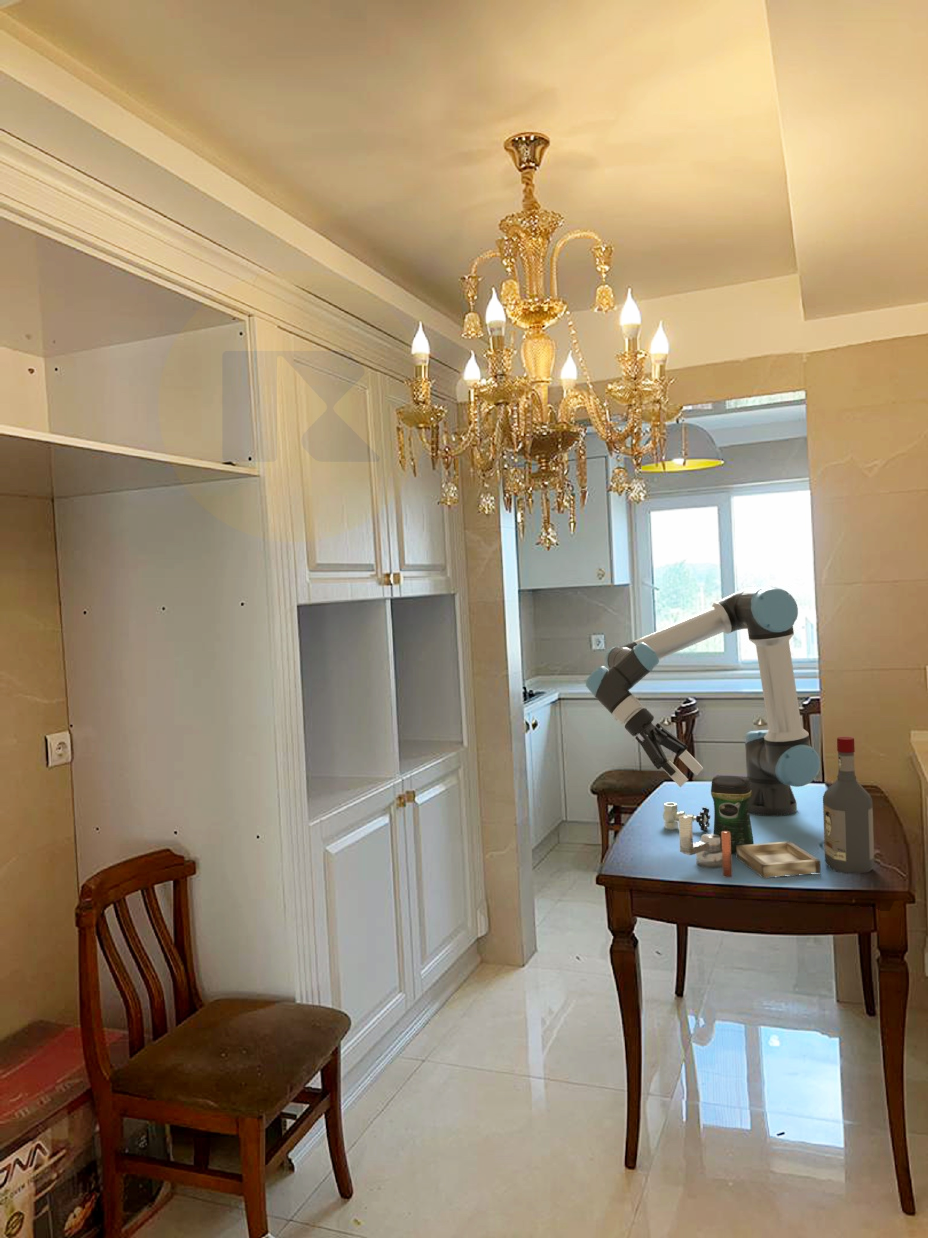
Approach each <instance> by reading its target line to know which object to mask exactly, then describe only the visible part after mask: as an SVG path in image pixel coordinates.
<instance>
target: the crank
mask: <svg viewBox="0 0 928 1238" xmlns="http://www.w3.org/2000/svg"><path fill="white" fill-rule="evenodd" d="M678 829H679V830H678V833H679V852H680V853H682V854H684V855H686V856H693V855H696V853H699V852H702V851H707V852H717V851H720V850H721V843H720V836H719V835H716V834H714V833H706V834H705V833H704V834H702V835H701V836H700V838H701V839H700V840H699V841H696V842H694V835H693V834H694V833H693V822H692V817H691V816H688V815H687V816H686V815H684V816H679V821H678Z"/></svg>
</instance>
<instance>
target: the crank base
mask: <svg viewBox="0 0 928 1238" xmlns="http://www.w3.org/2000/svg"><path fill="white" fill-rule="evenodd" d="M721 837H722V848H721V850H720V851H717V852H707V851H702V852H699V853H696V854H695V857H696V865H697V866H699V867H701V868H706V869H720V868H722V876H723V877H724V876H725V877H726V878H731V877H733V869H732V867H733V866H732V865H733V863H732V853H731V834H730V832H729V831H722V832H721ZM725 877H724V878H725Z"/></svg>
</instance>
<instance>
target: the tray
mask: <svg viewBox="0 0 928 1238" xmlns="http://www.w3.org/2000/svg"><path fill="white" fill-rule="evenodd" d="M736 850H737V853H736V859H738V860H739V861H741V862H742V863H743V864H744V865H745V866H747V867H749V868H750V869H751V870H752V871H753V870H754V871H753V872H755V873H756V874H757V873H758V874H757V875H759V876H760V875H761V876H762V877H761V876H760V877H761V878H762V879H769V878H768V877H775V876H785V875H799V874H811V873H821V871H822V870H821V860H820V859H818V858H817V857H815V856H814V855H812V854H811V853H809V852H808V851H806V850H804V849H803V848H801V847H799V846H798V845H796V844H795V843H794V842H791V841H790V840H789V841H775V842H765V843H754V844H749V845H737V846H736ZM821 874H822V873H821ZM799 876H800V875H799ZM775 878H776V877H775Z"/></svg>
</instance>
